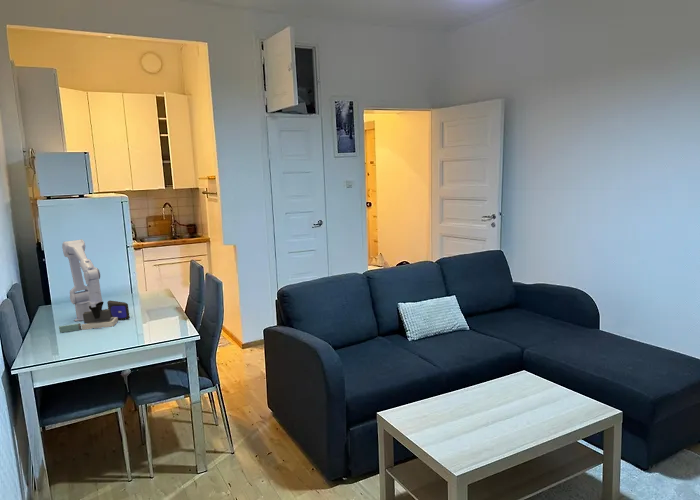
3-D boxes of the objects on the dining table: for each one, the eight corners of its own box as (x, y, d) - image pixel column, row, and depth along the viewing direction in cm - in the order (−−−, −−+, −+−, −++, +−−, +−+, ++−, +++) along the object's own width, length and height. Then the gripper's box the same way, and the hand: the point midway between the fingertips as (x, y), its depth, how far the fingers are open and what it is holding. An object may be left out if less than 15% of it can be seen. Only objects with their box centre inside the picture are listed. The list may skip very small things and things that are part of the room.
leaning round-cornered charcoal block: (104, 318, 267) (102, 301, 265) (112, 316, 271) (109, 299, 269) (123, 321, 259) (120, 304, 257) (130, 319, 262) (128, 302, 261)
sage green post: (59, 332, 244) (58, 327, 243) (60, 332, 245) (59, 326, 244) (81, 329, 247) (80, 323, 247) (81, 328, 248) (80, 323, 248)
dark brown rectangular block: (86, 321, 253) (84, 312, 252) (111, 317, 256) (109, 308, 255) (84, 323, 249) (82, 314, 248) (109, 319, 252) (108, 310, 252)
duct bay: (88, 324, 256) (87, 319, 256) (118, 321, 259) (117, 316, 259) (82, 329, 248) (81, 325, 247) (113, 326, 250) (112, 321, 250)
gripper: (89, 290, 256) (92, 314, 258) (82, 296, 242) (86, 322, 245) (103, 288, 258) (107, 312, 260) (98, 294, 244) (102, 320, 247)
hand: (98, 317), depth 253 cm, fingers closed on dark brown rectangular block, 4 cm apart
